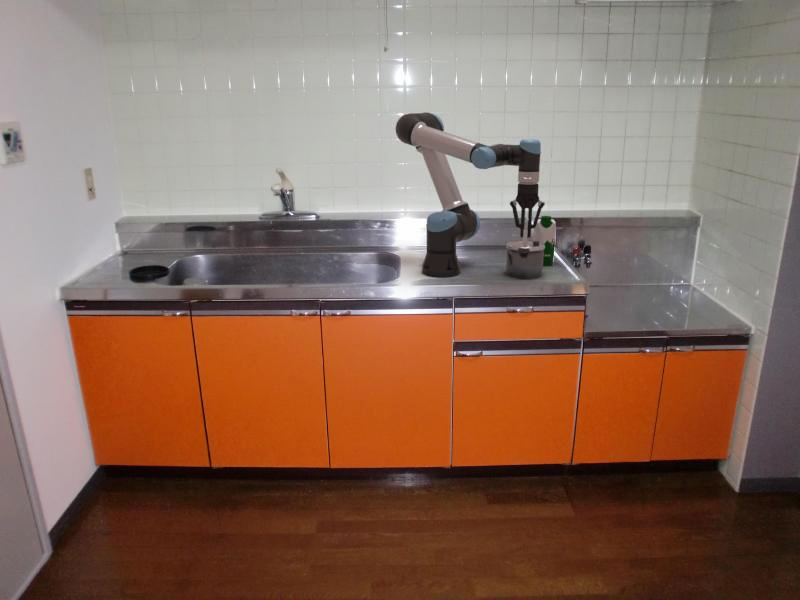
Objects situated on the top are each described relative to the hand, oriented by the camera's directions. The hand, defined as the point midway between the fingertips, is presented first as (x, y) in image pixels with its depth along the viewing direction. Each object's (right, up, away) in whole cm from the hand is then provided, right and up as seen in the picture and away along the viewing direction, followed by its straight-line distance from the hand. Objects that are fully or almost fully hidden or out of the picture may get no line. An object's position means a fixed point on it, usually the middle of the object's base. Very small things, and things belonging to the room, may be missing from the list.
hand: (524, 245), depth 233 cm
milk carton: (+12, -5, +23) cm, 27 cm away
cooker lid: (+1, -1, +4) cm, 4 cm away
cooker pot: (+1, -10, +8) cm, 13 cm away
